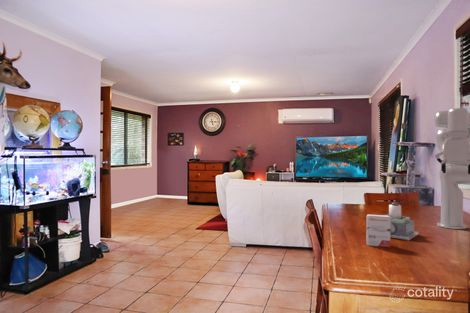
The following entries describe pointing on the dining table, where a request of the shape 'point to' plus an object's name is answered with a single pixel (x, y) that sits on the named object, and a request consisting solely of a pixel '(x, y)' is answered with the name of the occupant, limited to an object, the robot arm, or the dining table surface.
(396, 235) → the motor
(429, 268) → the dining table surface
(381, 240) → the ink box
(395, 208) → the white cylinder
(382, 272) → the dining table surface
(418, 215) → the dining table surface
